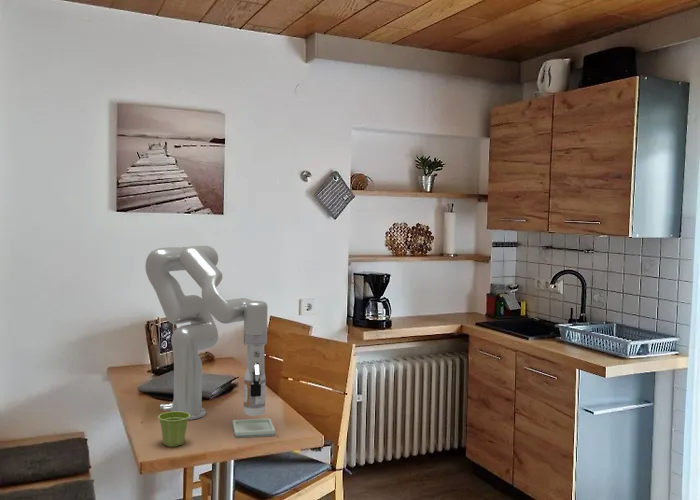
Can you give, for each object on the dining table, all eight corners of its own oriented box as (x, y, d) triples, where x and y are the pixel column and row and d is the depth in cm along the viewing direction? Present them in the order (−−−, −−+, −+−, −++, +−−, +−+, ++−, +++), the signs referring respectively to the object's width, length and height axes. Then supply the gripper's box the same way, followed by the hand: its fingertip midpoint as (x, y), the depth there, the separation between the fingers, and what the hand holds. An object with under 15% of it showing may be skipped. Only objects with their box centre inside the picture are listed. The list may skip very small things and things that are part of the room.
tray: (235, 438, 204) (235, 432, 203) (232, 425, 216) (232, 420, 216) (275, 435, 207) (275, 430, 206) (270, 423, 219) (270, 418, 219)
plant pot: (161, 438, 202) (161, 410, 201) (191, 438, 202) (192, 411, 202) (154, 449, 192) (155, 420, 192) (186, 449, 193) (187, 420, 193)
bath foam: (241, 411, 213) (242, 351, 212) (261, 409, 215) (262, 349, 214) (246, 417, 206) (247, 355, 205) (267, 415, 209) (268, 354, 208)
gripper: (270, 344, 202) (269, 400, 203) (263, 334, 219) (263, 385, 220) (246, 344, 200) (245, 401, 201) (241, 334, 217) (240, 386, 218)
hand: (254, 392), depth 210 cm, fingers closed on bath foam, 7 cm apart
